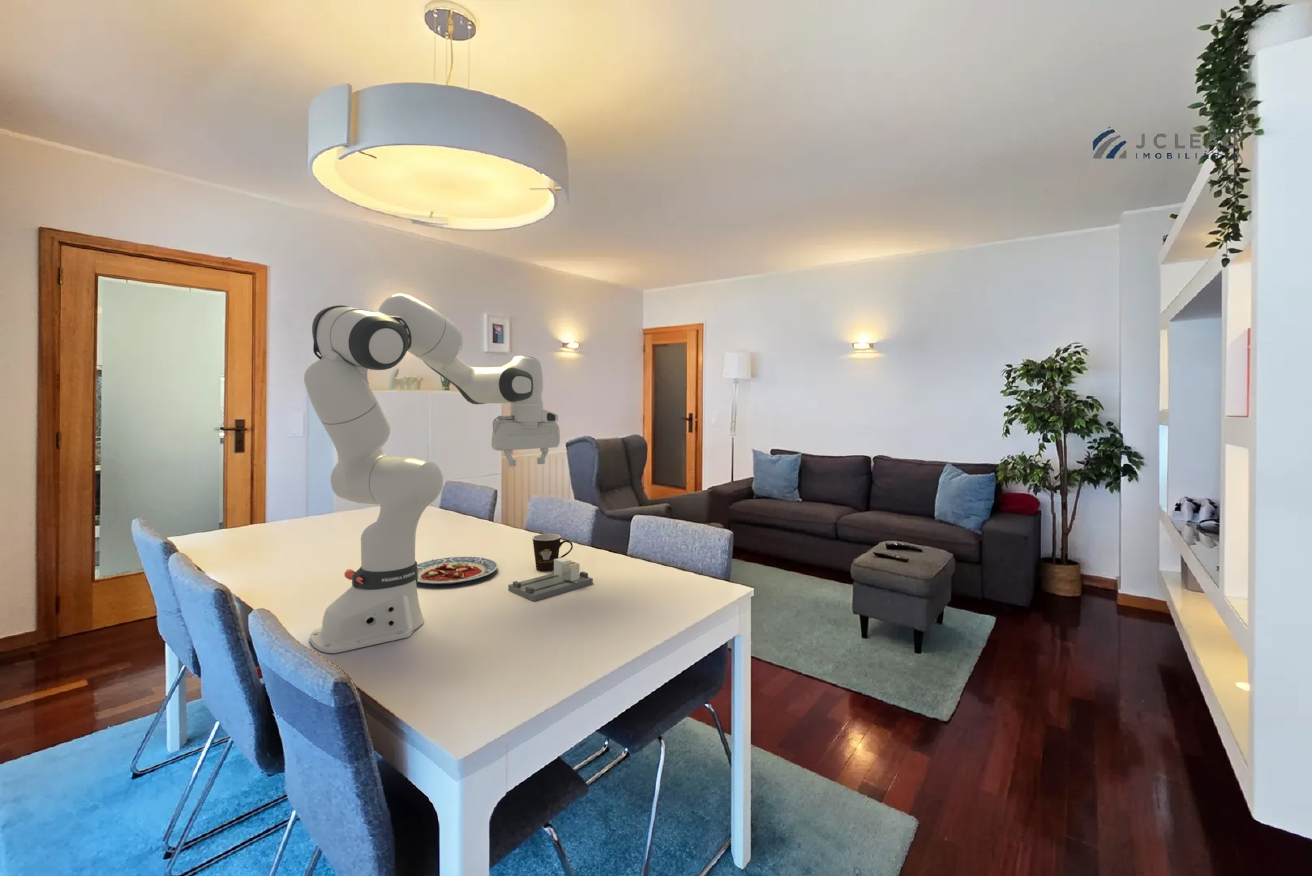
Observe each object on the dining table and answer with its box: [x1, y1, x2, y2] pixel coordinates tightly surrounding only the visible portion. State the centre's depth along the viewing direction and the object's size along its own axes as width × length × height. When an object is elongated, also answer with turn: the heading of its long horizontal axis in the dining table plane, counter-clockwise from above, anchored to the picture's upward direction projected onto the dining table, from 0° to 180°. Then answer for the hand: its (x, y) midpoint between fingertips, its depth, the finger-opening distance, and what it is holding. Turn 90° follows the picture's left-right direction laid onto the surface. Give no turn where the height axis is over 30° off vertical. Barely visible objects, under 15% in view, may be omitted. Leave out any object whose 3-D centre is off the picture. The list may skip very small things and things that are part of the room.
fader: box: [562, 560, 580, 581], centre depth 154 cm, size 3×4×5 cm
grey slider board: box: [507, 557, 594, 602], centre depth 153 cm, size 20×12×6 cm, turn 137°
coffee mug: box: [532, 533, 574, 573], centre depth 169 cm, size 12×9×10 cm
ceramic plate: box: [417, 556, 499, 585], centre depth 163 cm, size 26×26×3 cm
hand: (526, 465), depth 152 cm, fingers open, 8 cm apart
